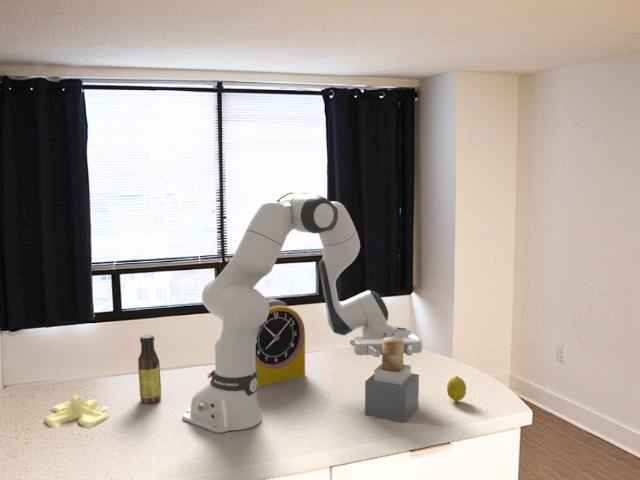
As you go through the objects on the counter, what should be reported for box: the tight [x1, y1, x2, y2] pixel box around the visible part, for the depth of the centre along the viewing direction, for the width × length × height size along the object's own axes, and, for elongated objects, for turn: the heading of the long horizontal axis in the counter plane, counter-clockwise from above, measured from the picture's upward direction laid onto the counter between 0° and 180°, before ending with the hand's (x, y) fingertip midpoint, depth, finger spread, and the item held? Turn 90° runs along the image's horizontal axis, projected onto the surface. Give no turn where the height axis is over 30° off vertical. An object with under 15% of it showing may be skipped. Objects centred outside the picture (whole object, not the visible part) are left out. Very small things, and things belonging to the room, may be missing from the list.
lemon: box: [446, 375, 467, 403], centre depth 185 cm, size 6×6×8 cm
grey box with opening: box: [364, 363, 420, 424], centre depth 177 cm, size 12×12×13 cm
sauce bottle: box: [137, 334, 162, 404], centre depth 184 cm, size 6×6×20 cm
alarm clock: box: [256, 298, 306, 387], centre depth 203 cm, size 21×9×26 cm, turn 123°
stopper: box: [381, 337, 404, 372], centre depth 176 cm, size 6×6×11 cm
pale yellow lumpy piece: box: [43, 394, 112, 429], centre depth 177 cm, size 22×19×6 cm
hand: (393, 353), depth 175 cm, fingers open, 8 cm apart
